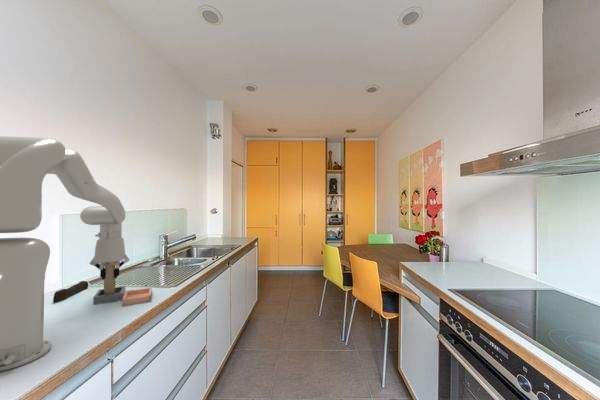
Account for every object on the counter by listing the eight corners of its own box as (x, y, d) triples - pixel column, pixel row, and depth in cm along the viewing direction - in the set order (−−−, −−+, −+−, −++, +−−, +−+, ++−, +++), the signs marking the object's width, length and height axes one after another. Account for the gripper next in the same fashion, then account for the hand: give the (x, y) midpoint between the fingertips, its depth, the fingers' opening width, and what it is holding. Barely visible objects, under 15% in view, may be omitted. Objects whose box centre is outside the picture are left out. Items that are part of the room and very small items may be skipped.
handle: (115, 297, 104) (116, 261, 105) (97, 298, 102) (98, 262, 103) (120, 293, 109) (121, 259, 109) (103, 294, 107) (104, 260, 108)
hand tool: (79, 289, 119) (79, 279, 119) (88, 288, 119) (88, 279, 119) (45, 305, 100) (45, 293, 100) (57, 304, 101) (57, 293, 101)
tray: (150, 301, 103) (150, 295, 103) (122, 306, 98) (122, 300, 98) (151, 292, 113) (151, 287, 113) (126, 296, 108) (126, 291, 108)
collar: (122, 300, 104) (122, 293, 104) (93, 304, 99) (93, 297, 99) (125, 292, 113) (125, 286, 113) (99, 296, 109) (99, 289, 109)
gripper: (83, 237, 99) (82, 283, 99) (133, 235, 107) (132, 277, 107) (88, 235, 106) (87, 278, 105) (134, 233, 114) (133, 273, 113)
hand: (109, 277), depth 106 cm, fingers closed on handle, 3 cm apart
